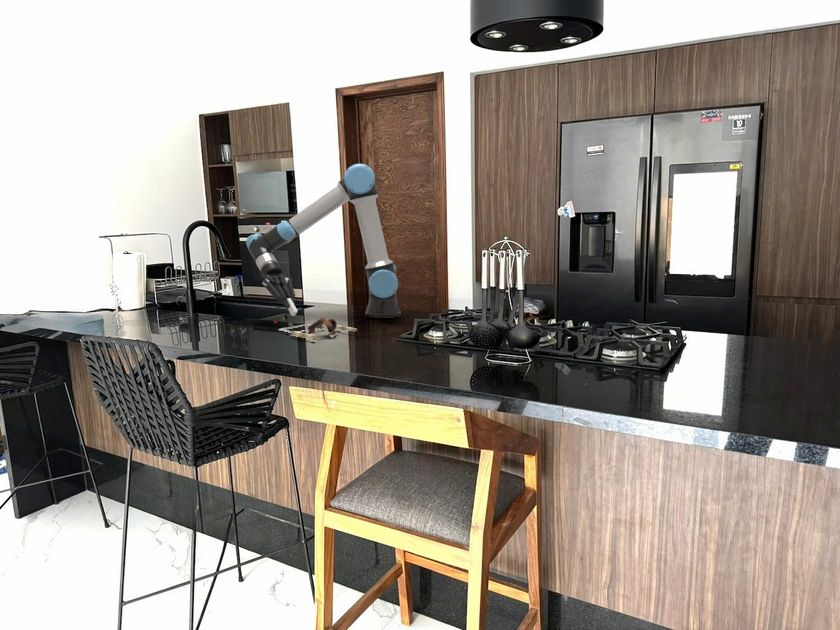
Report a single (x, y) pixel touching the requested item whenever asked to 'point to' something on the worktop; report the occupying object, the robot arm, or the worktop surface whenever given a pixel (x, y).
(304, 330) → the tray
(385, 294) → the robot arm
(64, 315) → the worktop surface
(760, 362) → the worktop surface
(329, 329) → the broken clay vessel
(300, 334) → the guide channel
